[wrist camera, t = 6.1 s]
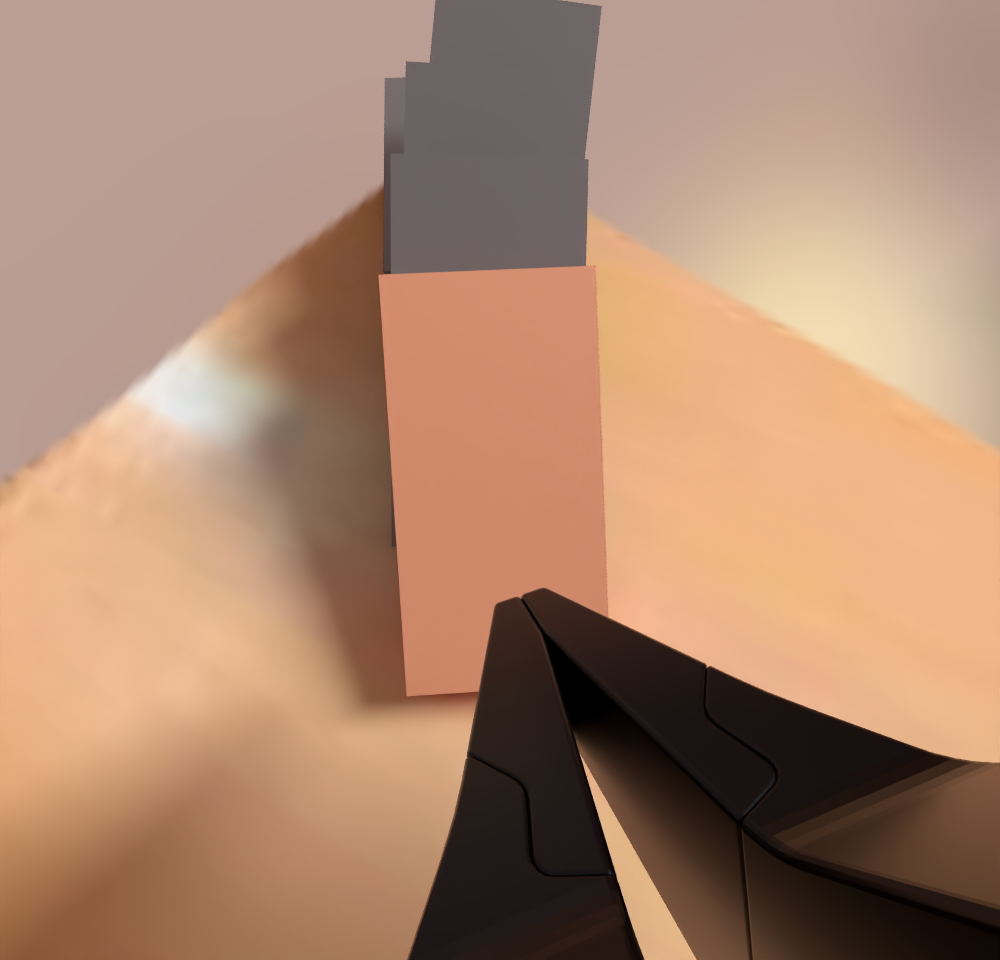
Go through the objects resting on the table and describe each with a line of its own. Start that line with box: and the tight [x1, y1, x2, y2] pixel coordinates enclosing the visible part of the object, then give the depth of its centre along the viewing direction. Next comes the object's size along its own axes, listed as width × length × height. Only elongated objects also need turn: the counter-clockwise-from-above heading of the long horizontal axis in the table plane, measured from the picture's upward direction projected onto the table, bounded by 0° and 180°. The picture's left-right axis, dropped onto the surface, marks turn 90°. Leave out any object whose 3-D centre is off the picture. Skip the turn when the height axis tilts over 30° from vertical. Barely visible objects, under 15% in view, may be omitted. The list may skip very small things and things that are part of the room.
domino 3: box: [403, 62, 587, 159], centre depth 17 cm, size 2×5×10 cm
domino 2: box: [390, 154, 588, 546], centre depth 16 cm, size 2×5×10 cm
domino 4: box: [430, 0, 601, 159], centre depth 19 cm, size 2×5×10 cm
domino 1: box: [379, 266, 608, 696], centre depth 15 cm, size 2×5×10 cm
